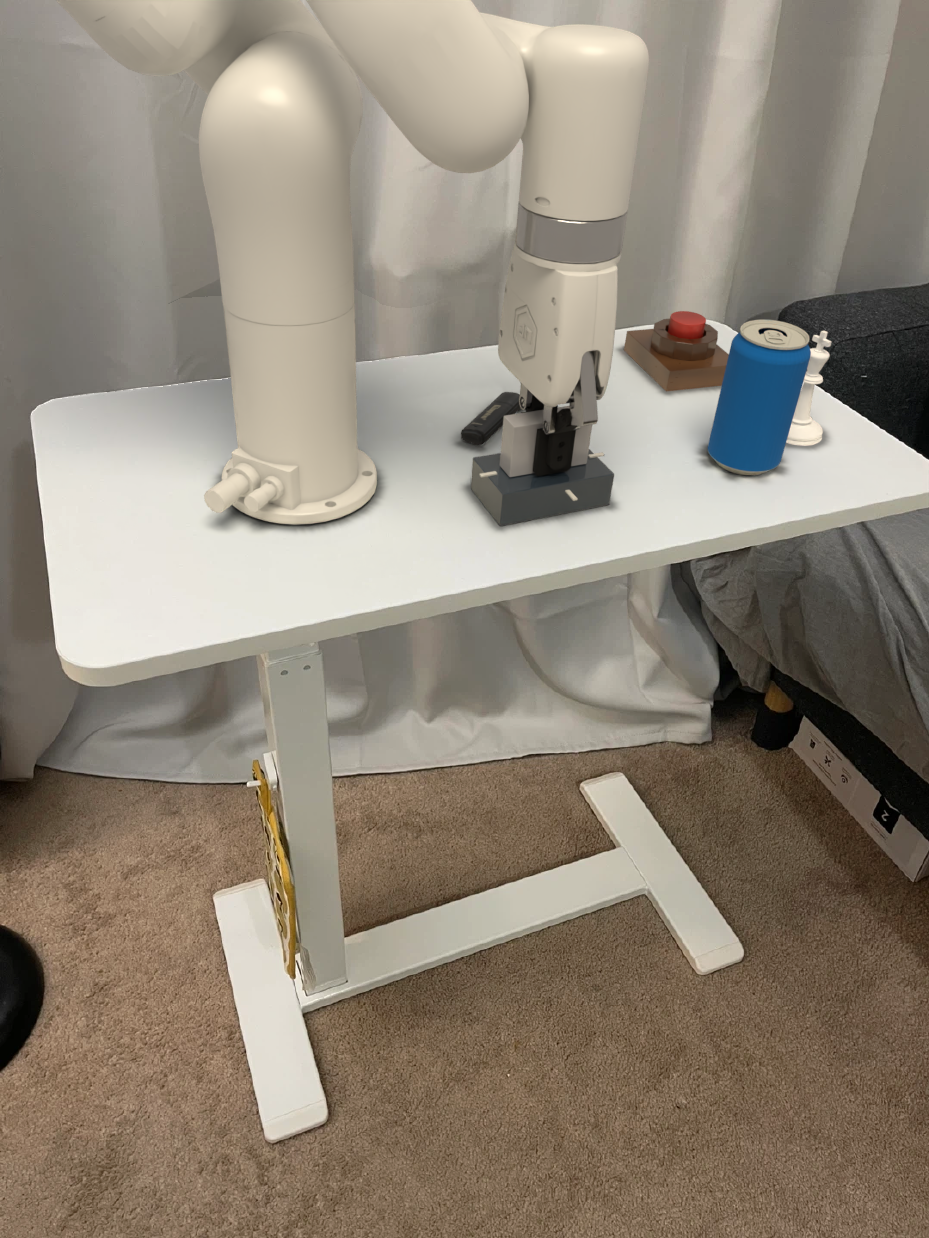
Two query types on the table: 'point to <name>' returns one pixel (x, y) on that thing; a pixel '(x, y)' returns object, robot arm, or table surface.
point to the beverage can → (759, 396)
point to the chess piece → (809, 397)
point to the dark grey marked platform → (540, 489)
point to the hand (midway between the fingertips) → (543, 461)
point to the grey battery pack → (533, 442)
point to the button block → (678, 357)
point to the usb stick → (490, 419)
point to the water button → (686, 325)
